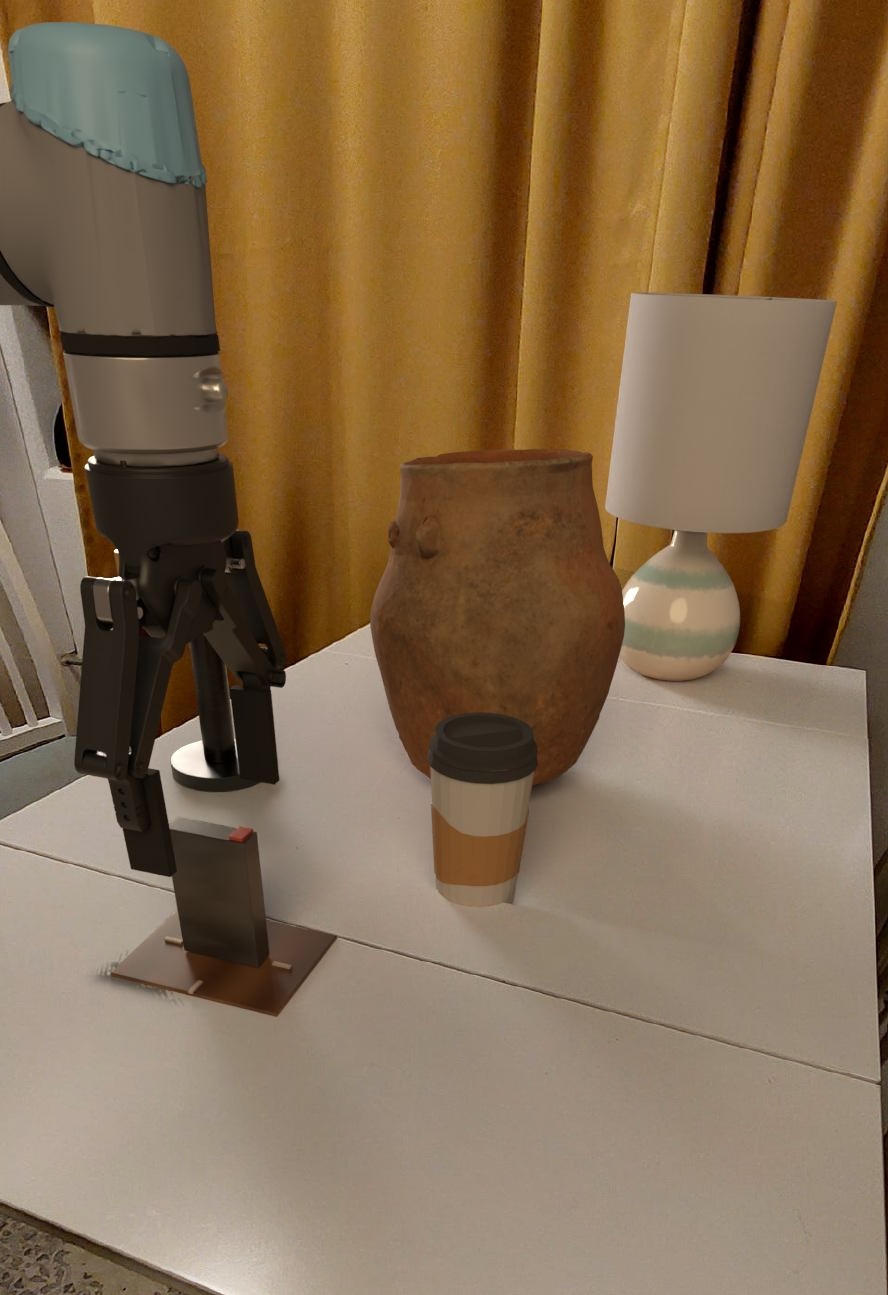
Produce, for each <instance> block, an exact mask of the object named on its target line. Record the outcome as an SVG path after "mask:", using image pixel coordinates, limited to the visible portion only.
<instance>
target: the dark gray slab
mask: <svg viewBox="0 0 888 1295" xmlns="http://www.w3.org/2000/svg"><path fill="white" fill-rule="evenodd" d="M169 828H170V834H171V839H172V845H173V851H174V857H175V862H176V868H177V872H176V873H175V874H173V875H172V876H171V880H172V886H173V891H174V892H173V893H174V897H175V904H176V910H178V916H179V922H180V927H181V933H182V939H183V945H184V950H185V951H188V952H192V953H197V954H201V955H205V956H209V957H214V958H218V959H222V960H226V961H231V962H235V963H239V964H244V965H248V966H252V967H256V968H259V967H260V965H261V964H262V963H263V962H264V961H265V959H266V958H267V957H268V956H269V954H270V953H269V944H268V934H267V924H266V920H267V916H266V906H265V898H264V897H265V896H264V887H263V877H262V868H261V859H260V858H261V857H260V849H259V848H260V847H259V839H258V832H257V831H254V828H250V827H244V826H238V827H233V826H229V825H223V824H218V823H214V822H208V821H202V820H197V819H192V818H189V817H182V816H176V817H174V819H173V820H172V821H170V822H169Z"/></svg>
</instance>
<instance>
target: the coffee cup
mask: <svg viewBox="0 0 888 1295" xmlns="http://www.w3.org/2000/svg"><path fill="white" fill-rule="evenodd" d="M537 753H538V748H537V743H536V742H535V741H534V735H533V730H532V728H531V727H530V726H529V725H528V724H526V723H525V722H523V721H522V720H519V719H516V718H514V717H511V716H507V715H503V714H496V713H484V712H474V713H463V714H458V715H453V716H450V717H447V718H445V719H443V720H442V721H440V722H439V723H438V724H437V726H436V728H435V735H434V736H433V737H432V738H431V740H430V744H429V753H428V760H427V761H428V763H429V765H430V769H431V779H430V786H431V788H430V789H431V804H430V810H431V811H430V812H431V831H432V832H431V833H432V852H433V853H432V855H433V871H434V875H435V890H437V892H438V893H439V895H440V896H442V898H444V899H445V900H447V901H449V902H450V903H453V904H457V905H460V906H463V907H470V908H486V907H494V906H497V905H501V904H502V903H504V904H509V905H513V903H514V900H515V893H516V887H517V881H518V875H519V873H520V868H521V862H522V855H523V851H524V850H523V849H524V843H525V837H526V831H527V825H528V821H529V820H528V819H529V815H530V811H529V810H530V801H531V796H532V795H531V794H532V788H533V785H532V783H533V777H534V771H535V770H536V768H537V766H538V760H537Z"/></svg>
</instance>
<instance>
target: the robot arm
mask: <svg viewBox="0 0 888 1295" xmlns="http://www.w3.org/2000/svg"><path fill="white" fill-rule="evenodd" d="M7 56H8V57H7V58H8V64H9V69H10V77H11V78H10V79H11V84H10V87H9V89H8V91H9V95H10V98H11V100H9V101H7V102H0V306H28V307H29V306H33V307H34V306H36V307H37V306H38V307H39V306H42V307H46V308H54V311H55V312H54V313H55V316H56V321H57V326H58V332H60V334H59V338H60V343H61V348H62V349H61V350H62V351H63V352H62V355H63V356H62V357H63V361H64V365H65V373H66V378H67V384H68V390H69V395H70V402H71V407H72V411H73V412H72V413H73V417H74V425H75V429H76V434H77V440H78V442H80V443H81V444H82V445H83V446H84V447H85V448H87V449H89V450H92V452H93V455H92V456H90V457H89V458H88V459H87V463H86V464H85V465H84V471H85V477H86V483H87V486H88V492H89V497H90V498H89V499H90V502H91V508H92V514H93V519H94V524H95V528H96V530H97V532H98V533H99V534H100V535H101V537H103V538H104V539H106V540H108V541H110V543H112V545H113V546H114V547H115V549H117V550H118V553H119V573H117V576H116V577H112V578H106V577H96V576H88V575H86V576H84V577H82V579H81V580H80V585H79V591H80V598H81V606H82V613H83V621H84V634H83V646H82V647H83V648H82V659H81V669H80V670H81V672H80V682H79V684H80V685H79V686H80V687H79V696H78V710H77V722H76V737H75V748H74V749H75V750H74V758H73V759H74V761H73V762H74V764H73V765H74V768H75V771H76V772H77V773H78V774H80V775H83V776H84V775H85V776H90V777H96V778H101V779H107V782H108V786H109V790H110V793H111V794H110V795H111V800H112V804H113V808H114V812H115V818H116V822H117V824H118V826H119V827H120V829H122V833H123V837H124V843H125V847H126V853H127V856H128V861H129V866H130V870H134V871H138V872H142V873H148V874H152V875H157V876H162V877H167V878H172V875H173V874H175V873H176V872H177V868H176V862H175V857H174V851H173V845H172V839H171V834H170V828H169V823H170V822H169V817H168V811H167V805H166V800H165V794H164V788H163V784H162V777H161V771H160V770H159V769H156V768H151V767H150V768H149V766H150V763H151V758H152V755H153V750H154V746H155V742H156V738H157V733H158V729H159V724H160V721H161V716H162V713H163V708H164V705H165V701H166V697H167V696H166V695H167V691H168V687H169V682H170V679H171V674H172V671H173V666H174V664H175V663H177V662H178V661H180V660H182V659H183V656H184V655H185V650H186V647H187V646H186V645H189V643H190V642H191V641H193V640H194V639H195V638H196V636H197V635H198V634H199V633H203V634H204V636H205V637H206V638H207V640H208V641H209V643H210V644H211V645H212V647H213V648H214V649H215V651H216V652H217V654H218V655H219V656H220V658H221V659H222V660H223V662H224V663H225V664H226V668H227V669H228V670H229V671H230V673H231V674H232V676H233V677H234V678H235V679H236V681H237V682H238V683H242V685H238V684H234V685H232V686H231V687H229V695H230V704H231V713H232V722H233V731H234V738H236V746H237V755H238V763H239V771H240V779H245V780H251V781H257V782H259V783H264V784H269V785H276V784H277V783H278V782H280V771H279V762H278V760H279V759H278V751H277V741H276V740H277V738H276V728H275V718H274V708H273V707H274V706H273V697H272V696H273V695H272V690H271V688H272V687H273V688H278V689H282V688H284V687H285V685H286V682H287V673H286V670H282V669H285V667H286V666H287V663H288V656H287V652H286V649H285V646H284V642H283V641H282V637H281V634H280V631H279V629H278V626H277V623H276V621H275V619H274V615H273V612H272V609H271V607H270V603H269V601H268V598H267V595H266V592H265V589H264V586H263V584H262V581H261V578H260V576H259V573H258V569H257V567H256V560H255V553H254V547H253V546H254V545H253V540H252V536H251V533H250V531H248V530H240V529H238V527H239V524H240V523H239V522H240V521H239V512H238V502H237V491H236V482H235V470H234V464H233V462H232V461H230V460H229V457H228V456H227V455H225V454H223V453H221V452H220V449H219V448H222V447H224V446H225V445H226V444H227V442H228V441H229V439H230V434H229V425H228V416H227V406H226V400H227V399H228V396H229V388H228V385H227V383H226V381H224V376H223V369H222V362H221V361H222V360H221V355H220V352H221V346H220V336H219V335H218V334H219V332H218V330H217V322H216V312H215V301H214V300H215V299H214V286H213V284H214V283H213V272H212V270H213V269H212V258H211V257H212V256H211V244H210V232H209V231H210V230H209V229H210V228H209V216H208V204H207V203H208V202H207V190H206V185H207V183H208V176H207V170H206V168H205V166H204V164H203V161H202V154H201V153H202V152H201V148H200V141H199V134H198V128H197V120H196V115H195V108H194V101H193V93H192V87H191V86H192V85H191V80H190V76H189V72H188V69H187V67H186V64H185V62H184V60H183V59H182V57H181V56H180V54H179V52H178V51H177V50H176V49H175V48H174V47H172V45H171V44H169V43H168V42H167V41H165V40H164V39H162V38H161V37H158V36H156V35H153V34H150V33H148V32H145V31H140V30H137V29H133V28H128V27H122V26H117V25H109V24H100V23H89V22H76V21H50V22H48V21H47V22H37V23H33V24H28V25H26V26H25V27H23V28H20V29H17V30H15V31H14V33H13V34H12V35H11V36H10V38H9V41H8V45H7ZM143 627H144V628H143ZM143 629H144V630H145V632H146V633H147V634H148V635H143V634H142V632H143ZM259 644H261V645H265V646H266V647H265V646H260V645H259Z"/></svg>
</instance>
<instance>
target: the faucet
mask: <svg viewBox="0 0 888 1295" xmlns="http://www.w3.org/2000/svg"><path fill="white" fill-rule="evenodd" d="M188 646H189V653H190V660H191V667H192V668H191V669H192V675H193V681H194V684H193V685H194V690H195V698H196V705H197V712H198V720H199V727H200V734H201V740H197V741H194V742H191V743H188V744H185V745H184V746H182V747H180V748H177V750H176V751H174V752H173V754H171V757H170V760H169V761H170V767H171V768H170V769H171V774H172V778H173V779H174V780H175V782H176V783H178V784H179V785H181V786H183V787H185V788H187V789H191V790H194V791H199V792H208V793H219V792H220V793H222V792H223V793H224V792H233V791H239V790H243V789H246V788H250V787H253V786H255V785H258V784H259V783H260V782H257V781H251V780H245V779H240V771H239V763H238V755H237V746H236V738H235V730H234V722H233V713H232V705H231V697H230V686H229V679H228V670H227V669H228V668H227V666H226V664H225V663H224V662H223V660H222V659H221V658H220V656H219V655H218V654H217V652H216V651H215V649H214V648H213V647H212V645H211V644H210V643H209V641H208V640H207V638H206V637H205V636H204V634H203V633H199V634H198V635H197V636H196V638H195V639H194V640H193V641H191V642H190V643H188Z"/></svg>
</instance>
